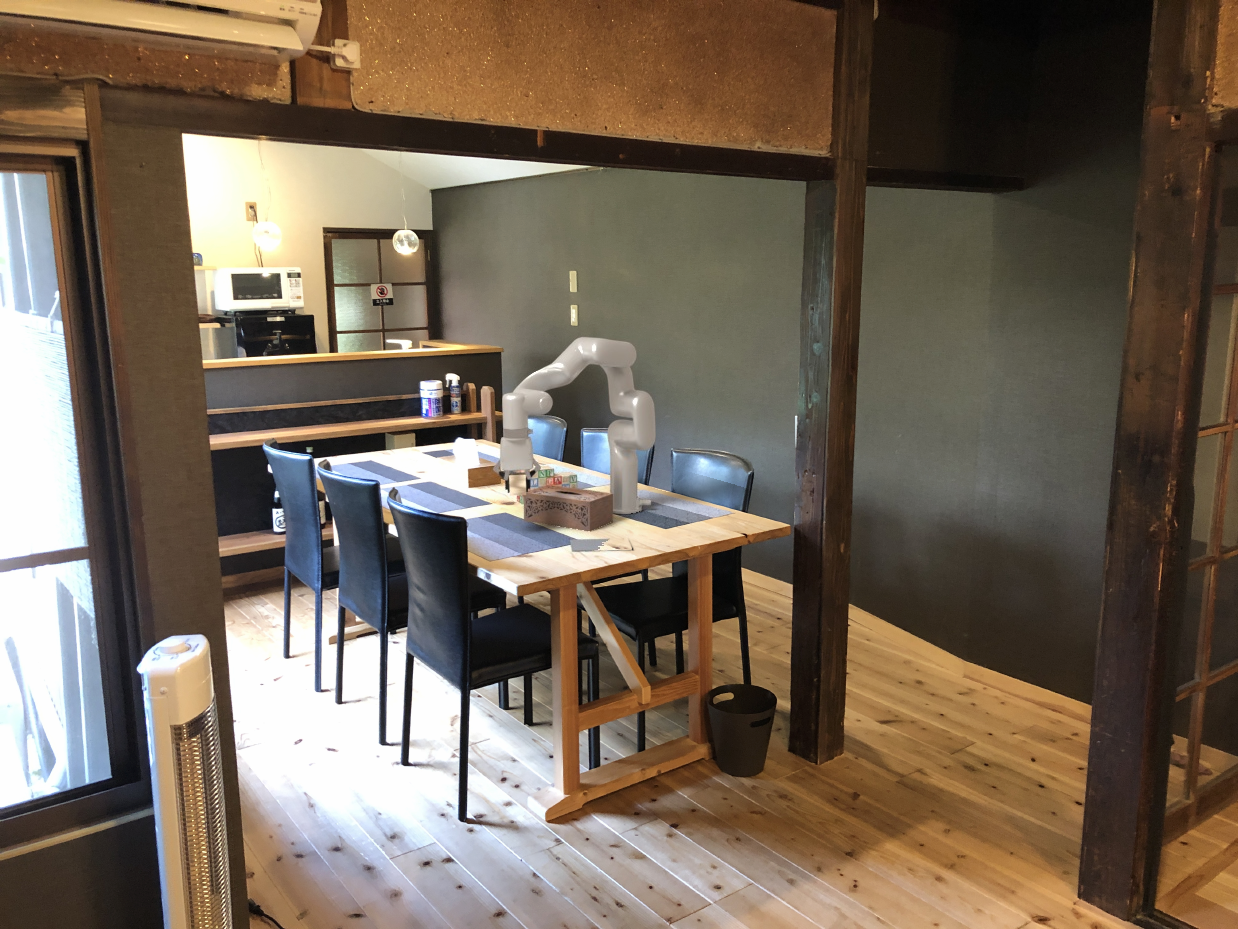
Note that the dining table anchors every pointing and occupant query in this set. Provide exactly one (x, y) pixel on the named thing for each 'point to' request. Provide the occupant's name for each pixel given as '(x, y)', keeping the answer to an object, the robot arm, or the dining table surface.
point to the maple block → (517, 483)
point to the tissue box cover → (568, 507)
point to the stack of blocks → (549, 479)
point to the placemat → (586, 544)
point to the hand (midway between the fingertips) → (517, 491)
